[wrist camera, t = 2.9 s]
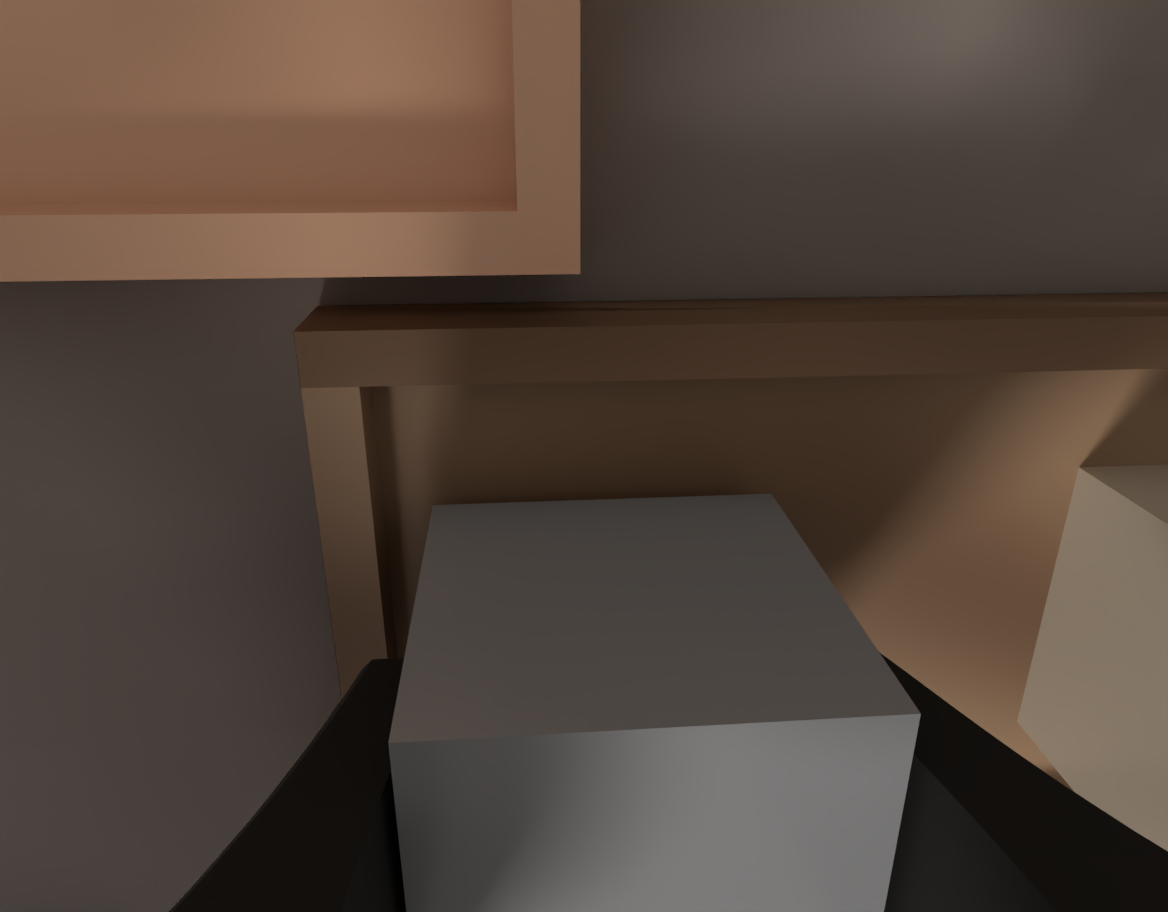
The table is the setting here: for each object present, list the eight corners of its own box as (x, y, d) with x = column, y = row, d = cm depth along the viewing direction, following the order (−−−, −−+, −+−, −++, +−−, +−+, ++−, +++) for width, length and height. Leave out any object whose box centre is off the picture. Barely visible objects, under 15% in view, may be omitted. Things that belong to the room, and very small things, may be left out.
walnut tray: (1320, 786, 14) (1388, 844, 13) (381, 843, 13) (369, 912, 12) (1532, 286, 11) (1647, 307, 10) (318, 305, 10) (293, 331, 9)
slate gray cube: (746, 758, 12) (856, 1059, 8) (452, 775, 11) (425, 1096, 8) (771, 493, 10) (921, 713, 7) (432, 505, 10) (388, 742, 6)
